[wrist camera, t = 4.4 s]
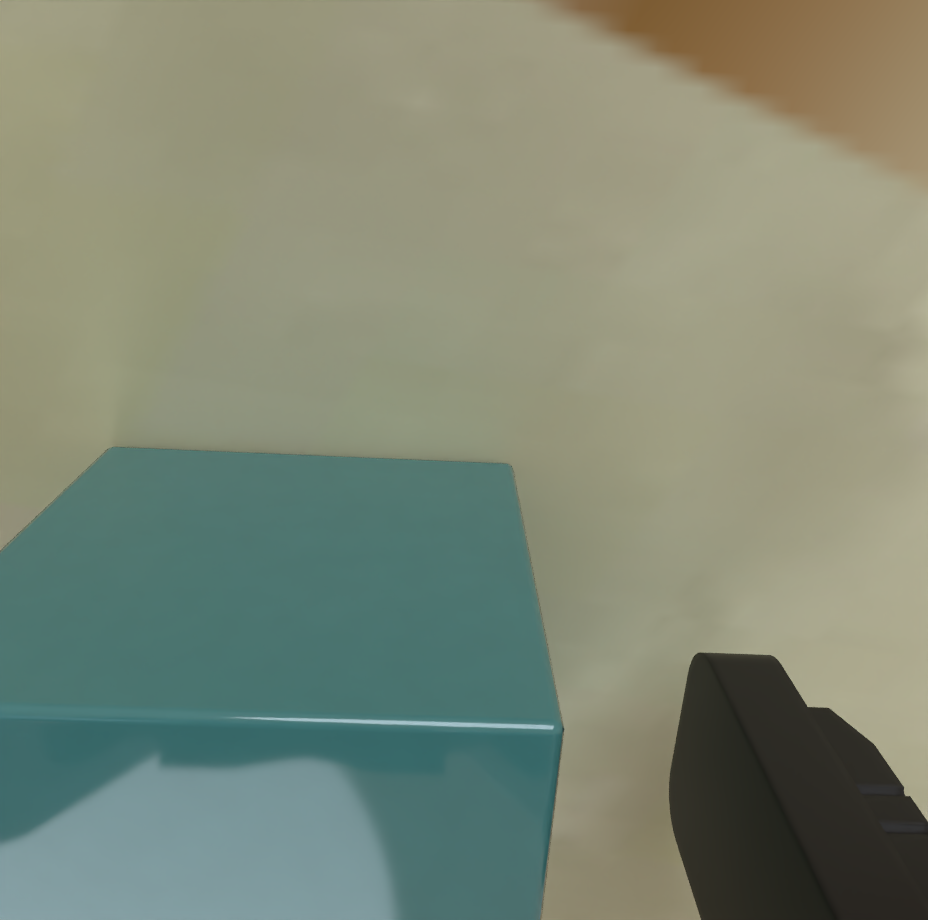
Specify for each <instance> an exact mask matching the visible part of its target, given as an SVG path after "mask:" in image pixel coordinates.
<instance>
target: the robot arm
mask: <svg viewBox="0 0 928 920" xmlns="http://www.w3.org/2000/svg"><path fill="white" fill-rule="evenodd" d="M669 802H670V814H671V821H672V827H673V831H674V835H675V839H676V842H677V845H678V849H679V852H680V855H681V858H682V861H683V864H684V867H685V870H686V874H687V877H688V880H689V883H690V886H691V889H692V892H693V895H694V898H695V902H696V905H697V908H698V911H699V914H700V917H701V920H928V821H927V820H926V819H925V817H924V816H923V814H922V813H921V811H920V810H919V808H918V807H917V806H916V804H915V803H914V801H913V800H912V798H911V797H910V796H905V795H904V787H903V785H902V784H901V783H900V781H899V780H898V778H897V777H896V775H895V774H894V772H893V771H892V770H891V768H890V767H889V765H888V764H887V762H886V761H885V759H884V758H883V757H882V755H881V754H880V752H879V751H878V749H877V748H876V746H875V745H874V744H873V743H872V742H870V741H869V740H868V739H867V738H865V737H864V736H863V735H862V734H860V733H859V732H858V731H857V730H856V729H854V728H853V727H852V726H851V725H849V724H848V723H847V722H846V721H844V720H843V719H842V718H841V717H839V716H838V715H837V714H836V713H834V712H833V711H832V710H831V709H829V708H816V707H807V705H806V704H805V702H804V700H803V699H802V697H801V696H800V694H799V692H798V691H797V689H796V688H795V686H794V684H793V683H792V681H791V680H790V678H789V676H788V675H787V673H786V672H785V670H784V668H783V667H782V665H781V664H780V662H779V661H778V660H777V659H776V658H775V657H774V656H771V655H752V654H724V653H697V654H696V655H695V656H694V657H693V659H692V662H691V664H690V667H689V672H688V677H687V682H686V688H685V693H684V699H683V704H682V710H681V715H680V721H679V726H678V732H677V737H676V743H675V748H674V754H673V759H672V765H671V771H670V781H669Z"/></svg>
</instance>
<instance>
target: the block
mask: <svg viewBox="0 0 928 920" xmlns="http://www.w3.org/2000/svg"><path fill="white" fill-rule="evenodd" d="M563 735H564V726H563V721H562V715H561V710H560V705H559V700H558V695H557V690H556V685H555V680H554V675H553V669H552V664H551V659H550V654H549V649H548V644H547V639H546V634H545V629H544V624H543V618H542V613H541V608H540V603H539V598H538V593H537V588H536V583H535V578H534V573H533V567H532V562H531V557H530V552H529V547H528V542H527V537H526V532H525V527H524V521H523V516H522V511H521V506H520V501H519V496H518V491H517V486H516V481H515V476H514V471H513V468H512V466H511V465H508V464H501V463H477V462H454V461H430V460H407V459H383V458H360V457H336V456H313V455H289V454H266V453H242V452H219V451H195V450H172V449H149V448H125V447H112V448H109V449H107V450H106V451H105V452H104V453H103V454H102V455H101V456H100V457H99V458H97V459H96V460H95V461H94V462H93V463H92V464H91V465H90V466H89V467H88V468H87V469H86V470H85V471H84V472H83V473H82V474H81V475H80V476H78V477H77V478H76V479H75V480H74V481H73V482H72V483H71V484H70V485H69V486H68V487H67V488H66V489H65V490H64V491H63V492H62V493H61V494H59V495H58V496H57V497H56V498H55V499H54V500H53V501H52V502H51V503H50V504H49V505H48V506H47V507H46V508H45V509H44V510H43V511H42V512H40V513H39V514H38V515H37V516H36V517H35V518H34V519H33V520H32V521H31V522H30V523H29V524H28V525H27V526H26V527H25V528H24V529H23V530H22V531H20V532H19V533H18V534H17V535H16V536H15V537H14V538H13V539H12V540H11V541H10V542H9V543H8V544H7V545H6V546H5V547H4V548H3V549H1V550H0V920H541V918H542V910H543V901H544V893H545V885H546V877H547V868H548V860H549V852H550V843H551V835H552V827H553V818H554V810H555V802H556V794H557V785H558V777H559V769H560V760H561V752H562V744H563Z"/></svg>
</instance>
